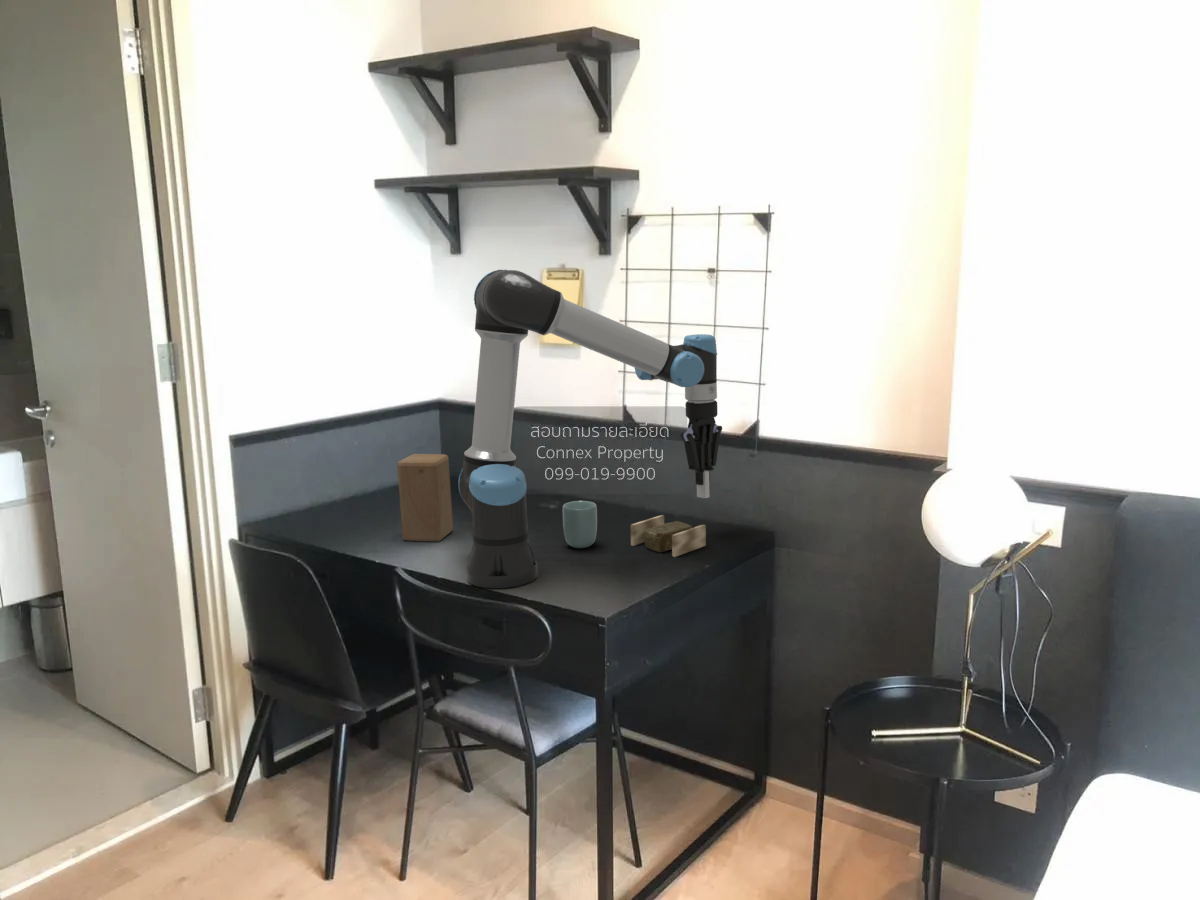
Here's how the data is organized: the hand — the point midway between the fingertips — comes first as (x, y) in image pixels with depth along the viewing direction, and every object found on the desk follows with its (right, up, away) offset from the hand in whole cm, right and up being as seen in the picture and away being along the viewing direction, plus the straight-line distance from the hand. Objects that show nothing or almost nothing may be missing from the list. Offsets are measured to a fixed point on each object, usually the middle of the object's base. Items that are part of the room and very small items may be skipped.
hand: (703, 496), depth 222 cm
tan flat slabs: (-9, -11, -7) cm, 16 cm away
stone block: (-9, -12, -7) cm, 16 cm away
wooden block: (-68, -10, +6) cm, 69 cm away
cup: (-29, -12, -5) cm, 32 cm away
